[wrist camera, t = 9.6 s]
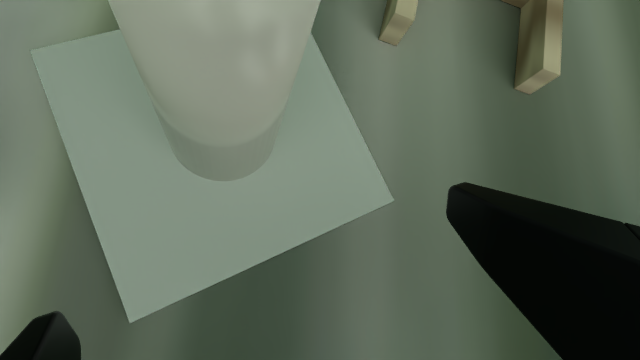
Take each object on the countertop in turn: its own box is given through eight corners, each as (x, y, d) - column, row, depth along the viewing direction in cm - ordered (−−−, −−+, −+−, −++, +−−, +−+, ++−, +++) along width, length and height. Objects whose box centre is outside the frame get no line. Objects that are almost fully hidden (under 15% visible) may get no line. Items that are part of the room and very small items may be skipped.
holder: (529, 94, 26) (560, 75, 23) (378, 39, 24) (394, 13, 22) (536, 0, 28) (564, -26, 26) (399, -55, 26) (416, -88, 24)
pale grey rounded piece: (287, 168, 20) (361, 19, 9) (180, 192, 19) (103, 48, 7) (251, 40, 22) (275, -230, 10) (149, 52, 20) (45, -248, 9)
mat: (391, 202, 21) (394, 200, 21) (132, 322, 17) (129, 323, 17) (288, -6, 23) (289, -11, 23) (33, 54, 19) (29, 50, 19)
